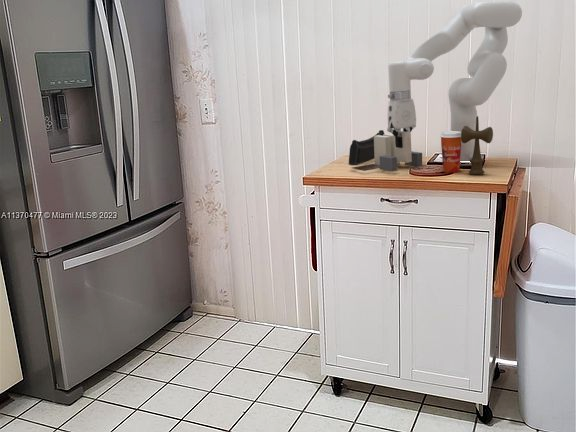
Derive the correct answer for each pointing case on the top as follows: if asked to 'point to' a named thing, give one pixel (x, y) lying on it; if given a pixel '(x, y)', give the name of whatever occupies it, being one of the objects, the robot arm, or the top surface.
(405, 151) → the white book
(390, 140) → the white book
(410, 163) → the grey book
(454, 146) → the paper cup
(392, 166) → the grey book
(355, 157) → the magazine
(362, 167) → the shelf board
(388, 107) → the robot arm
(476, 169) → the kendama
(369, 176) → the top surface
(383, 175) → the top surface
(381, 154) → the white book
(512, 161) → the top surface
